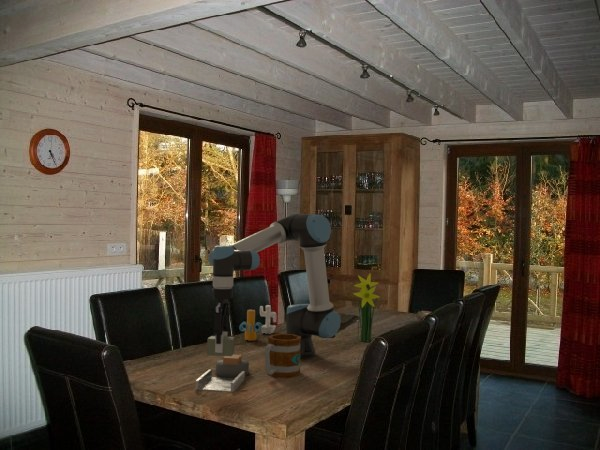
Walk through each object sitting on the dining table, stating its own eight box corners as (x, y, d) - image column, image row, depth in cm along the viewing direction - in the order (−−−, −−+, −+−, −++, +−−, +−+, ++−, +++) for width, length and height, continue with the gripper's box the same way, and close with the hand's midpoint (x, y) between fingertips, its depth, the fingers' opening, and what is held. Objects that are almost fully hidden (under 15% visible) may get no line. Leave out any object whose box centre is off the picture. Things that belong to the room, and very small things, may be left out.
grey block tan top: (251, 370, 233) (252, 353, 233) (244, 379, 220) (244, 361, 220) (220, 368, 235) (221, 351, 235) (211, 377, 222) (211, 359, 222)
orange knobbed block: (266, 339, 294) (266, 310, 294) (254, 343, 285) (254, 312, 285) (247, 336, 301) (248, 307, 301) (234, 339, 292) (235, 310, 292)
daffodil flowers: (377, 347, 282) (379, 276, 282) (348, 344, 287) (349, 274, 286) (382, 340, 299) (384, 273, 298) (354, 338, 303) (356, 271, 303)
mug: (278, 368, 238) (279, 332, 238) (307, 373, 231) (307, 336, 231) (251, 379, 221) (251, 340, 221) (280, 385, 214) (281, 344, 214)
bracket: (244, 380, 219) (244, 371, 219) (233, 392, 203) (233, 383, 203) (208, 378, 221) (209, 369, 221) (195, 390, 205) (195, 380, 205)
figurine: (273, 335, 306) (274, 306, 306) (257, 333, 309) (257, 305, 309) (278, 332, 313) (278, 305, 313) (261, 331, 316) (262, 303, 316)
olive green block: (234, 353, 214) (234, 337, 214) (231, 356, 209) (231, 339, 209) (210, 351, 215) (211, 335, 215) (207, 355, 210) (207, 338, 210)
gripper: (219, 284, 221) (218, 345, 221) (205, 289, 203) (203, 355, 203) (238, 285, 220) (237, 346, 220) (225, 290, 202) (224, 356, 202)
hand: (221, 350), depth 212 cm, fingers closed on olive green block, 5 cm apart
